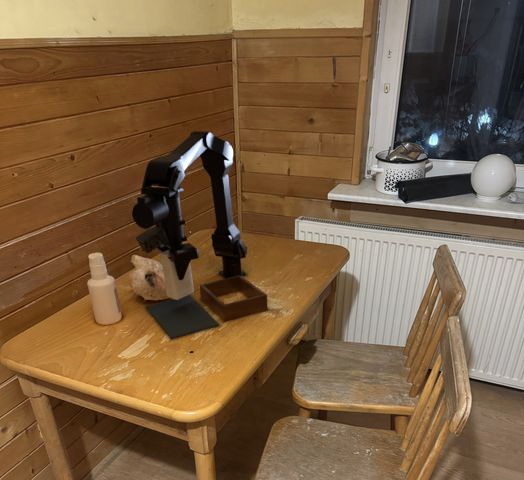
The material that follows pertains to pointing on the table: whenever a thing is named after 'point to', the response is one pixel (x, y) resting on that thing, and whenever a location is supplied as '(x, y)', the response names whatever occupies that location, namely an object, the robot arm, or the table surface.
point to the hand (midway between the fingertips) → (177, 276)
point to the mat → (181, 317)
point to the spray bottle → (103, 292)
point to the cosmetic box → (176, 279)
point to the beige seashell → (148, 279)
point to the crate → (235, 309)
